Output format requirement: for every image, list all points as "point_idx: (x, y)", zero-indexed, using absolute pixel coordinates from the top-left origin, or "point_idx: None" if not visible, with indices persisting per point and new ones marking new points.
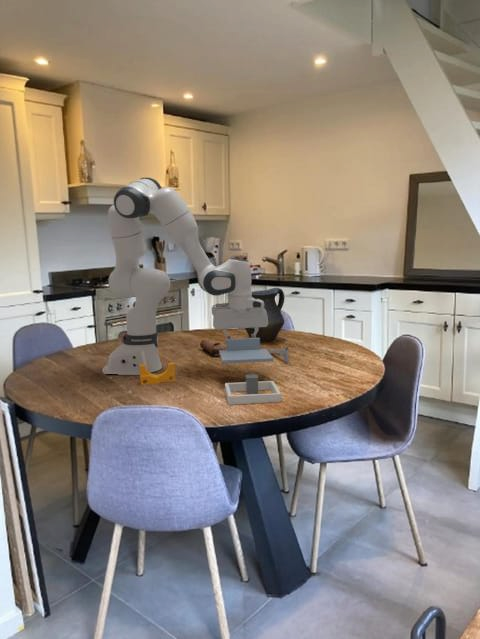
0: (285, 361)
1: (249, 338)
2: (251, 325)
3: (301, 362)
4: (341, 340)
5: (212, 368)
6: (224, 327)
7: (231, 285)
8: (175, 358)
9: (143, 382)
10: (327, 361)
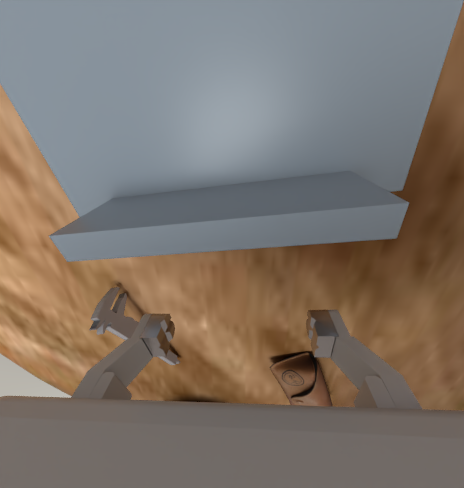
0: (123, 295)
1: (145, 242)
2: (106, 425)
3: (88, 295)
4: (68, 394)
5: (333, 266)
6: (430, 426)
7: None
8: (412, 350)
9: None
10: (30, 296)
